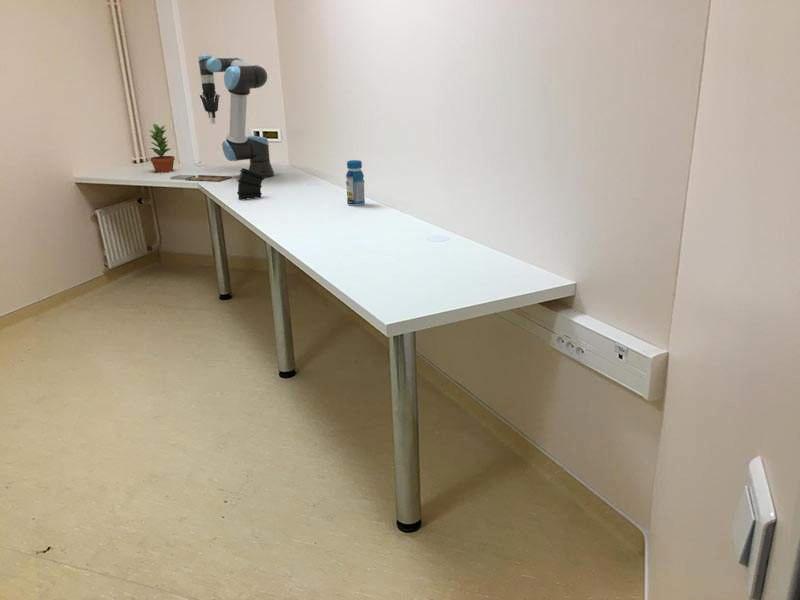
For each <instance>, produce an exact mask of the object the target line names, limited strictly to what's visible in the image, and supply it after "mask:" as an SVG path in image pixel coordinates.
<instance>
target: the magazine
mask: <svg viewBox="0 0 800 600" xmlns="http://www.w3.org/2000/svg"><path fill="white" fill-rule="evenodd" d="M239 172H240V174H239V178H238V179H237V182H238V185H237V187H238V189H237V195H238V200H240V199H245V200H248V199H247V198H252V199H256V198H255V197H260V198H261V197H262V195H263V193H262V191H261V188H263V185H262V183H263V181H264V180H265V177H264V176H263V175H260V174H258V173H255V172H252V171H250V170H249V169H246V168H244V167H242V168H241V169H240V170H239ZM263 177H264V178H263Z"/></svg>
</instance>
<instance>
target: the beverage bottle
mask: <svg viewBox="0 0 800 600" xmlns="http://www.w3.org/2000/svg"><path fill="white" fill-rule="evenodd" d="M346 167H347V168H346V169H348V170H347V172H346V175H345V177H346V178H345V179H346V180H345V184H346V196H347V197H346V200H347V201H346V202H347V205H348V206H353V207H359V206H360V207H361V206H364V205H365V201H366V200H365V179H364V177H365V175H364V172H363V170H362V169H363V168H362V167H363V162H362V160H358V159H357V160H356V159H352V160H347V161H346Z"/></svg>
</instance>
